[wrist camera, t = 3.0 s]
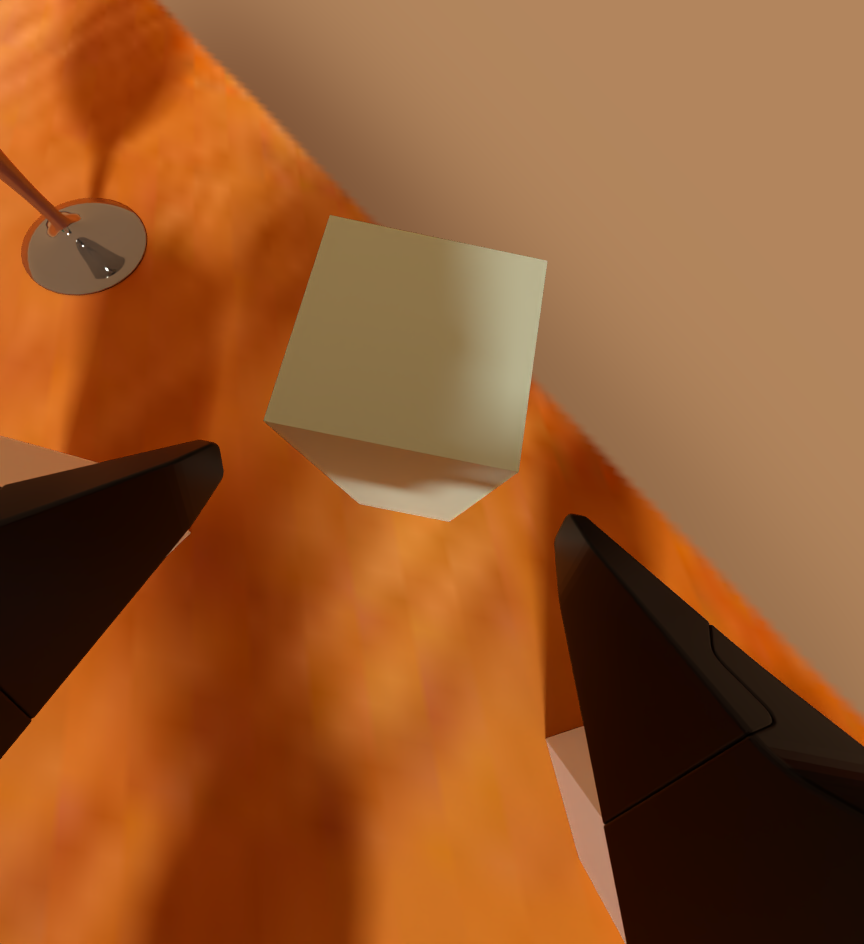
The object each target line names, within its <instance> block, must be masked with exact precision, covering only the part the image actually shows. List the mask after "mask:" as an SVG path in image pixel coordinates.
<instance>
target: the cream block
mask: <svg viewBox="0 0 864 944" xmlns="http://www.w3.org/2000/svg"><path fill="white" fill-rule="evenodd" d="M96 463H98V462H94V461H91V460H87V459H83V458H80V457H76V456H73V455H69V454H65V453H62V452H58V451H54V450H51V449H47V448H44V447H40V446H36V445H33V444H29V443H25V442H22V441H18V440H14V439H11V438H7V437H4V436H0V486H1V487H3V486H4V485H6V484H10V483H15V482H19V481H23V480H27V479H32V478H36V477H40V476H45V475H49V474H53V473H58V472H62V471H66V470H71V469H75V468H79V467H83V466H88V465H92V464H96ZM190 533H191V532H190V531H189V530H188V531H187V532H186V533H185V534H184V536H183V537H182V538H181V539H180V541H179V542H178V543H177V544H176V545H175V547H174V548H173V549H172V550H171V552H172V551H173V550H174V549H175V548H176V547H177V546H178V545H179V544H180V543H181V542H182V541H183V540H184V539H185V538H186V537H187V536H188V535H189V534H190ZM171 552H170V553H171ZM170 553H169V554H170ZM169 554H168V555H169ZM168 555H167V556H168Z"/></svg>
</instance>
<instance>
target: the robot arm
mask: <svg viewBox="0 0 864 944" xmlns="http://www.w3.org/2000/svg"><path fill="white" fill-rule="evenodd" d="M223 472H224V471H223V464H222V459H221V454H220V449H219V446H218V445H217V444H216V443H214V442H209V441H204V440H195V441H191V442H187V443H183V444H178V445H174V446H170V447H165V448H161V449H157V450H152V451H148V452H144V453H139V454H135V455H131V456H127V457H122V458H118V459H114V460H109V461H105V462H101V463H96V464H92V465H88V466H83V467H79V468H75V469H71V470H66V471H62V472H58V473H53V474H49V475H45V476H40V477H36V478H32V479H27V480H23V481H19V482H15V483H10V484H6V485H4V486H3V487H1V486H0V759H1V758H2V756H3V755H4V754H5V753H6V752H7V750H8V749H9V748H10V747H11V746H12V744H13V743H14V742H15V741H16V739H17V738H18V737H19V736H20V735H21V733H22V732H23V731H24V730H25V729H26V727H27V726H28V725H29V724H30V722H31V721H32V720H31V719H32V718H34V717H35V716H36V715H37V713H38V712H39V711H40V710H41V709H42V707H43V706H44V705H45V704H46V703H47V701H48V700H49V699H50V698H51V696H52V695H53V694H54V693H55V692H56V690H57V689H58V688H59V687H60V685H61V684H62V683H63V682H64V681H65V679H66V678H67V677H68V676H69V675H70V673H71V672H72V671H73V670H74V668H75V667H76V666H77V665H78V664H79V662H80V661H81V660H82V659H83V657H84V656H85V655H86V654H87V653H88V651H89V650H90V649H91V648H92V647H93V645H94V644H95V643H96V642H97V640H98V639H99V638H100V637H101V636H102V634H103V633H104V632H105V631H106V629H107V628H108V627H109V626H110V625H111V623H112V622H113V621H114V620H115V619H116V617H117V616H118V615H119V614H120V612H121V611H122V610H123V609H124V608H125V606H126V605H127V604H128V603H129V601H130V600H131V599H132V598H133V597H134V595H135V594H136V593H137V592H138V591H139V589H140V588H141V587H142V586H143V584H144V583H145V582H146V581H147V580H148V578H149V577H150V576H151V575H152V573H153V572H154V571H155V570H156V569H157V567H158V566H159V565H160V564H161V563H162V561H163V560H164V559H165V558H166V556H167V555H168V554H169V553H170V552H171V550H172V549H173V548H174V547H175V545H176V544H177V543H178V542H179V541H180V539H181V538H182V537H183V536H184V534H185V533H186V532H187V531H188V529H189V528H190V527H191V525H192V524H193V522H194V521H195V520H196V518H197V517H198V515H199V514H200V512H201V510H202V509H203V507H204V506H205V504H206V503H207V501H208V500H209V498H210V497H211V495H212V494H213V492H214V491H215V489H216V488H217V486H218V484H219V483H220V481H221V480H222V477H223ZM554 548H555V561H556V573H557V586H558V596H559V603H560V609H561V614H562V619H563V624H564V629H565V634H566V639H567V644H568V649H569V654H570V659H571V664H572V669H573V674H574V679H575V684H576V689H577V695H578V700H579V705H580V710H581V715H582V720H583V725H584V730H585V735H586V740H587V745H588V750H589V755H590V760H591V765H592V770H593V775H594V780H595V785H596V790H597V796H598V801H599V806H600V811H601V816H602V821H603V823H604V824H605V825H604V832H605V837H606V842H607V847H608V853H609V858H610V863H611V868H612V873H613V878H614V883H615V888H616V893H617V898H618V903H619V908H620V913H621V918H622V923H623V928H624V933H625V938H626V943H627V944H864V746H862V745H861V744H860V743H858V742H857V741H856V740H855V739H853V738H852V737H851V736H849V735H848V734H847V733H846V732H844V731H843V730H842V729H840V728H839V727H838V726H837V725H835V724H834V723H833V722H832V721H830V720H829V719H828V718H826V717H825V716H824V715H823V714H821V713H820V712H819V711H817V710H816V709H815V708H814V707H812V706H811V705H810V704H808V703H807V702H806V701H805V700H803V699H802V698H801V697H800V696H798V695H797V694H796V693H794V692H793V691H792V690H791V689H789V688H788V687H787V686H786V685H784V684H783V683H782V682H781V681H779V680H778V679H777V678H775V677H774V676H773V675H772V674H770V673H769V672H768V671H767V670H765V669H764V668H763V667H762V666H760V665H759V664H758V663H757V662H755V661H754V660H753V659H752V658H751V657H749V656H748V655H747V654H746V653H745V652H743V651H742V650H741V649H740V648H739V647H737V646H736V645H735V644H734V643H733V642H731V641H730V640H729V639H728V638H727V637H726V636H724V635H723V634H722V633H721V632H720V631H719V630H718V629H716V628H715V627H714V626H713V625H709V622H708V621H707V620H706V619H705V618H703V617H702V616H701V615H700V614H699V613H698V612H696V611H695V610H694V609H693V608H692V607H691V606H689V605H688V604H687V603H686V602H685V601H684V600H682V599H681V598H680V597H679V596H678V595H677V594H675V593H674V592H673V591H672V590H671V589H670V588H668V587H667V586H666V585H665V584H664V583H663V582H661V581H660V580H659V579H658V578H657V577H655V576H654V575H653V574H652V573H651V572H650V571H648V570H647V569H646V568H645V567H644V566H643V565H641V564H640V563H639V562H638V561H637V560H636V559H634V558H633V557H632V556H631V555H630V554H629V553H627V552H626V551H625V550H624V549H623V548H622V547H620V546H619V545H618V544H617V543H616V542H615V541H613V540H612V539H611V538H610V537H609V536H608V535H606V534H605V533H604V532H603V531H602V530H601V529H599V528H598V527H597V526H596V525H595V524H594V523H592V522H591V521H590V520H589V519H588V518H587V517H585V516H581V515H576V514H568V515H567V516H566V518H565V519H564V521H563V523H562V525H561V527H560V529H559V531H558V533H557V535H556V538H555V542H554Z"/></svg>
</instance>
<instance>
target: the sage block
mask: <svg viewBox="0 0 864 944" xmlns="http://www.w3.org/2000/svg"><path fill="white" fill-rule="evenodd" d="M546 267H547V261H546V260H541V259H536V258H532V257H527V256H522V255H518V254H513V253H508V252H503V251H498V250H494V249H489V248H484V247H480V246H475V245H470V244H465V243H461V242H455V241H451V240H446V239H441V238H437V237H432V236H427V235H423V234H418V233H413V232H408V231H403V230H398V229H394V228H389V227H384V226H380V225H375V224H370V223H366V222H361V221H356V220H352V219H347V218H342V217H337V216H333V215H330V216H329V219H328V222H327V225H326V228H325V232H324V235H323V238H322V241H321V244H320V247H319V250H318V253H317V256H316V259H315V263H314V266H313V269H312V272H311V275H310V278H309V281H308V284H307V287H306V290H305V293H304V297H303V300H302V303H301V306H300V309H299V312H298V315H297V318H296V321H295V324H294V328H293V331H292V334H291V337H290V340H289V343H288V346H287V349H286V352H285V355H284V358H283V362H282V365H281V368H280V371H279V374H278V377H277V380H276V383H275V386H274V389H273V392H272V396H271V399H270V402H269V405H268V408H267V411H266V414H265V417H264V420H263V421H264V422H265V423H266V424H268V425H269V426H270V427H271V428H272V429H273V430H275V431H276V432H277V433H278V434H279V435H280V436H281V437H283V438H284V439H285V440H286V441H287V442H288V443H290V444H291V445H292V446H293V447H294V448H295V449H296V450H298V451H299V452H300V453H301V454H302V455H303V456H305V457H306V458H307V459H308V460H309V461H310V462H311V463H313V464H314V465H315V466H316V467H317V468H318V469H320V470H321V471H322V472H323V473H324V474H325V475H326V476H328V477H329V478H330V479H331V480H332V481H333V482H335V483H336V484H337V485H338V486H339V487H340V488H342V489H343V490H344V491H345V492H346V493H347V494H348V495H350V496H351V497H352V498H353V499H354V500H355V501H357V502H358V503H359V504H362V505H367V506H372V507H377V508H382V509H387V510H392V511H397V512H403V513H408V514H413V515H418V516H423V517H428V518H433V519H438V520H443V521H448V522H450V521H451V520H452V519H454V518H455V517H457V516H458V515H459V514H461V513H462V512H463V511H465V510H466V509H468V508H469V507H470V506H472V505H473V504H475V503H476V502H477V501H479V500H480V499H482V498H483V497H484V496H486V495H487V494H489V493H490V492H491V491H493V490H494V489H496V488H497V487H498V486H500V485H501V484H503V483H504V482H505V481H507V480H508V479H509V478H511V477H512V476H514V475H515V474H516V473H518V472H519V464H520V457H521V450H522V443H523V435H524V428H525V421H526V413H527V406H528V399H529V392H530V384H531V377H532V369H533V363H534V355H535V348H536V341H537V334H538V325H539V319H540V312H541V304H542V297H543V289H544V283H545V275H546Z"/></svg>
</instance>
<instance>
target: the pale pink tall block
mask: <svg viewBox="0 0 864 944" xmlns="http://www.w3.org/2000/svg"><path fill="white" fill-rule="evenodd" d="M546 742H547V745H548V749H549V753H550V756H551V760H552V763H553V767H554V770H555V774H556V778H557V781H558V785H559V788H560V792H561V795H562V799H563V803H564V806H565V810H566V813H567V817H568V820H569V824H570V828H571V831H572V835H573V838H574V842H575V845H576V849H577V853H578V856H579V859H580V861H581V863H582V864H583V866H584V868H585V870H586V872H587V874H588V876H589V877H590V879H591V881H592V883H593V885H594V887H595V888H596V890H597V892H598V894H599V896H600V898H601V899H602V901H603V903H604V905H605V907H606V909H607V911H608V912H609V914H610V916H611V918H612V920H613V922H614V923H615V925H616V927H617V929H618V931H619V933H620V934H621V936H622V938H623V940H624V942H625V944H627V943H626V938H625V933H624V928H623V923H622V918H621V913H620V908H619V903H618V898H617V893H616V888H615V883H614V878H613V873H612V868H611V863H610V858H609V853H608V847H607V842H606V837H605V832H604V825H605V824H604V823H603V821H602V816H601V811H600V806H599V801H598V796H597V790H596V785H595V780H594V775H593V770H592V765H591V760H590V755H589V750H588V745H587V740H586V735H585V730H584V726H581V727H578V728H575V729H572V730H569V731H566V732H563V733H560V734H557V735H554V736H551V737H548V738H546Z"/></svg>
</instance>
